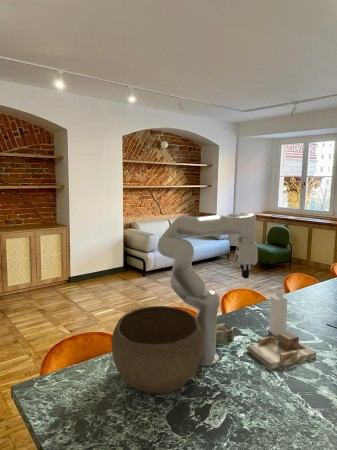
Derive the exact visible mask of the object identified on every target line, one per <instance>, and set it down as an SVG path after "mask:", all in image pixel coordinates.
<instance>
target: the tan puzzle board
mask: <svg viewBox="0 0 337 450" xmlns="http://www.w3.org/2000/svg"><path fill="white" fill-rule="evenodd" d="M278 342H279V338H278V339H276V336H274V335H270V336H264V337H260V338H258V343H254V344H249V345H247V351H248V353H250V354H251V356H252V355H253V357H255V358H256V359H257V360H258V361H260V362H261V363H262V364H264V365H265V366H266V367H267V368H268V369H269V370H273V369H277V368H280V367H284V366H288V365H292V364H297V363H301V362H305V361H309V360H312V359H317V351H315V350H313V349H311V348H310V347H309V346H307V345H305V344H303V343H302V342H300V341H299V342H298V349H297V350H293V351H289V352H287V351H285V350H284V349H282V348H281V347H279V346H278Z"/></svg>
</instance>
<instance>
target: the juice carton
mask: <svg viewBox="0 0 337 450" xmlns="http://www.w3.org/2000/svg"><path fill="white" fill-rule="evenodd" d="M234 339H235V334H234V330H233V328H231V327H230V326H229V325H228V324H226V323H217V324H216V344H219V343H226V342H227V343H228V342H233V341H234Z"/></svg>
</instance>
